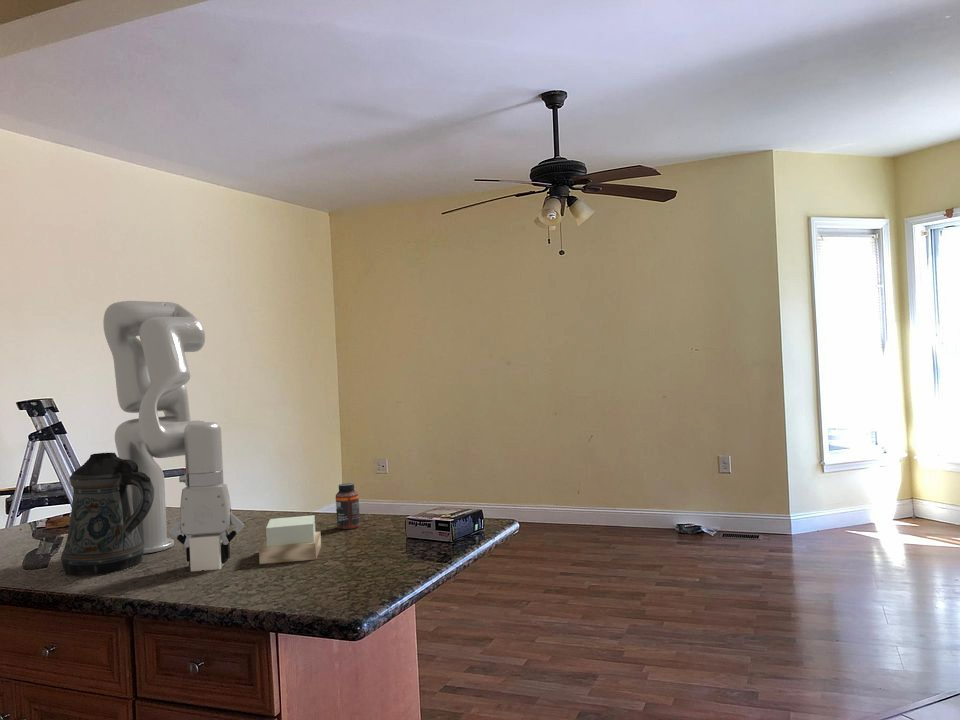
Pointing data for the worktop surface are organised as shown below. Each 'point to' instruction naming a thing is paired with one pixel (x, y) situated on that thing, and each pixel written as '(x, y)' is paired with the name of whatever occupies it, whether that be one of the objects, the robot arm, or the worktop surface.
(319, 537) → the bottom block
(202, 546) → the pillar block
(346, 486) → the supplement bottle
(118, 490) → the beer stein
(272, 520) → the top block
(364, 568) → the worktop surface
